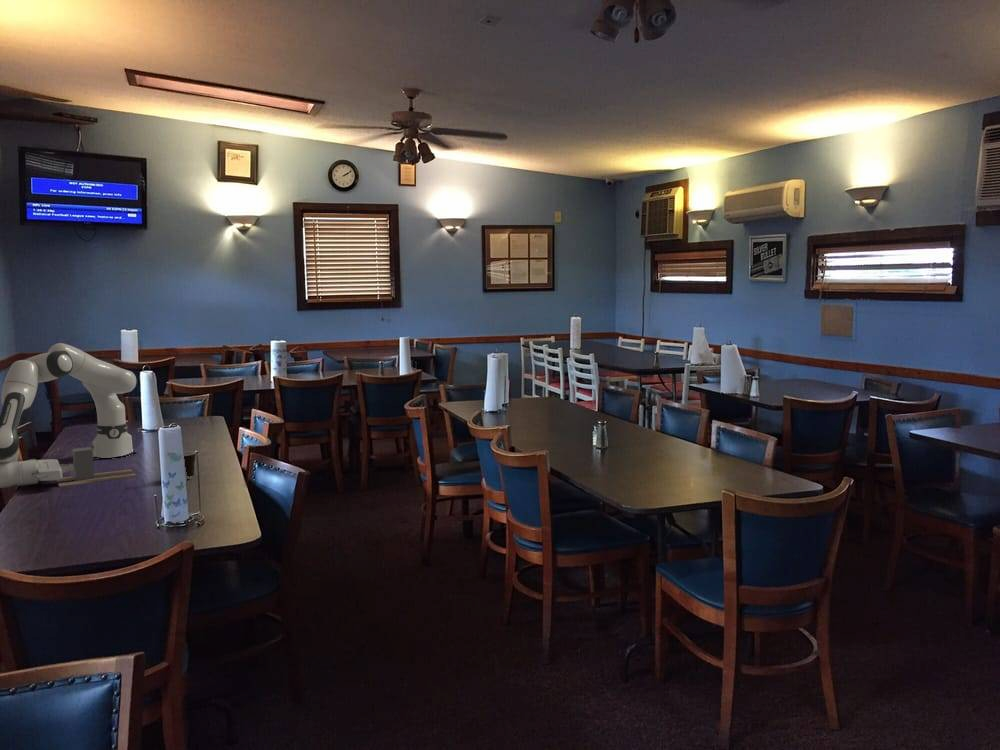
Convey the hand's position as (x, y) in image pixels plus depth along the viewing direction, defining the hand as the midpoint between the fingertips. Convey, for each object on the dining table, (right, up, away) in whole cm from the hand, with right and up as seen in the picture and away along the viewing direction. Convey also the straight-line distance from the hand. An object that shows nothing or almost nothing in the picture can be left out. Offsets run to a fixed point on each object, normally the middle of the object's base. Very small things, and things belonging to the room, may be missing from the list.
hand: (74, 467), depth 288 cm
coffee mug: (+38, -6, +12) cm, 40 cm away
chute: (+6, -6, +5) cm, 10 cm away
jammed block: (+3, -5, +2) cm, 6 cm away
